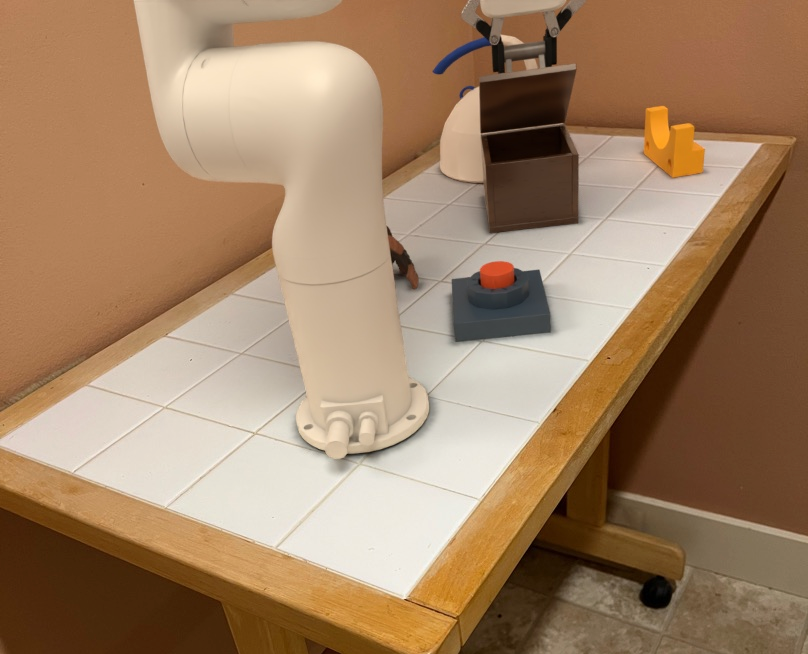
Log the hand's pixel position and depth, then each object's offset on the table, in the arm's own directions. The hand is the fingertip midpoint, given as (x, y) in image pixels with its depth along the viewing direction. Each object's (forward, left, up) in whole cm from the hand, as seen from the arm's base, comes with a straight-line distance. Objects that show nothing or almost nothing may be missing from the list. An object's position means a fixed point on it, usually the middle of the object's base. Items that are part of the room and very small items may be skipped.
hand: (524, 73), depth 101 cm
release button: (-30, +6, -14) cm, 33 cm away
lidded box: (0, 0, -17) cm, 17 cm away
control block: (-30, +6, -17) cm, 35 cm away
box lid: (+1, 0, -4) cm, 4 cm away
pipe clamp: (+12, -22, -18) cm, 31 cm away
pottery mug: (-19, +20, -18) cm, 32 cm away
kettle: (+22, +2, -17) cm, 28 cm away
